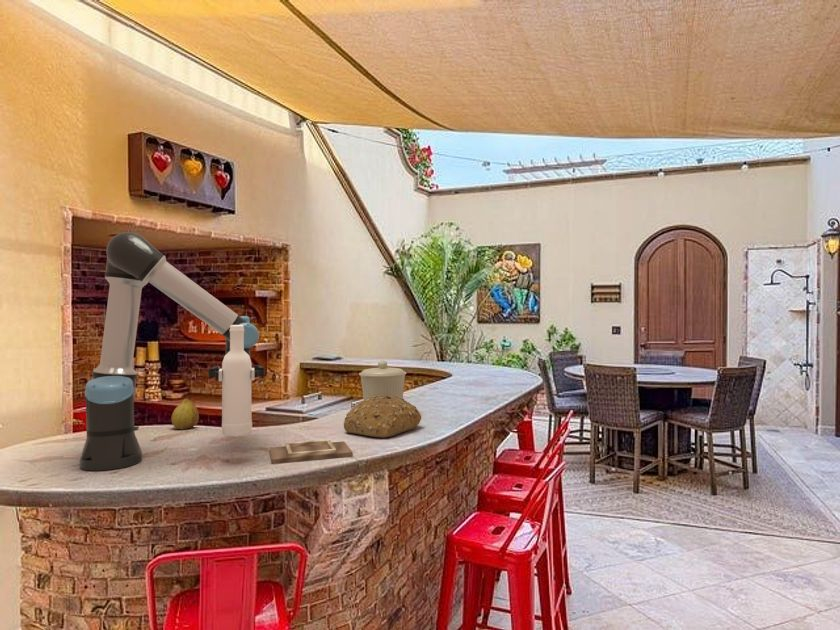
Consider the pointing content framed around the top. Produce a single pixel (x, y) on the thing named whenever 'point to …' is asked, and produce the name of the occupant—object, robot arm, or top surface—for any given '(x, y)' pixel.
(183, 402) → the fruit
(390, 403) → the bread
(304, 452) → the serving board
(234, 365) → the bottle
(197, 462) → the top surface
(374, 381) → the canister
